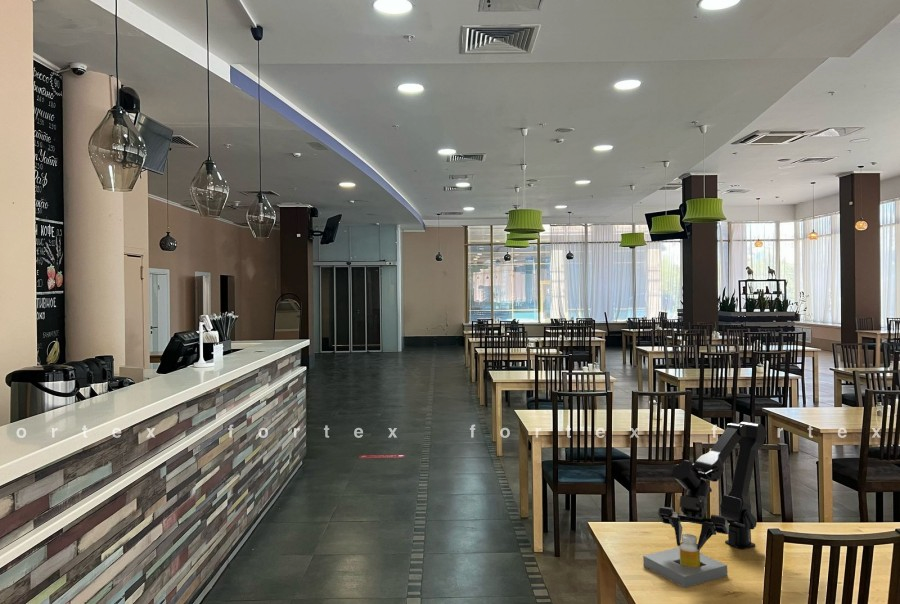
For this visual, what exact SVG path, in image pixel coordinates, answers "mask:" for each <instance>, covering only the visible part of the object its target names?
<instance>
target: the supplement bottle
mask: <svg viewBox="0 0 900 604" xmlns="http://www.w3.org/2000/svg"><path fill="white" fill-rule="evenodd" d="M679 547H680V565H682V566H684V567H686V568H688V569H693V568H697V567H700V553H701V552H700V550H701V549H700V550H698V549H697V547H698V539H697V536H696V535H695V534H690V533H684V534H682V535H681V542H680V545H679Z"/></svg>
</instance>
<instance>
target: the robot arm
mask: <svg viewBox="0 0 900 604" xmlns="http://www.w3.org/2000/svg"><path fill="white" fill-rule="evenodd" d="M767 435H768V431H767V429H766V427H765V426H764V425H763V424H762V423H757V422H750V421H741V422H740V423H736V422H735V423H734V422H730V423H727V424H726V425H725V430H724V431H723V432H722V434H721V435H720V437H719V438H718V439H717V441H716V442H715V443H714V445H713V446H712V447H711V449H710V450H709V451H708V452H707V453H704V454H702V455H700V456H699V457H698V458H697V459H696V460H695V461H694V463H692V461H690V460H687V459H684V460H683V461H682V462H680V463H678V464H677V465H675V466H674V467H673V468H672V472H671V473H672V476H673V478H674V479H675V480H676V481H677V482H678V483H679V484H680V485H681V486H682V487H683V488H684V489H685V490H687V491H686V494H685V495H679V505H678V506H679V508H680V511H681V512H682V513H679V512H676V511H675V510H674V508H672V507H667V506H661V507H659V508H658V511H657V515H658V517H659V520H660V521H661V523H663V524H666V525H670V526H671V528H673V529H674V533H675V540H676V546H677V547H680V543H681V542H682V535H683V534H682V533H683V526H682V522H684V523H690V524H691V523H692V524H696V525H701V530H700V532H699V533H700V534H699V537H698V540H697V544H698V547H697V549H698V550H701V549H702V548H703V546H704V544H705V543H706V542H707V541H708V540H709V539H710V538H711V537H712V536H716V535H717V534H721V535H727V537H728V538H727V539H726V540H724V543H725V544H727V545H730V546H733V547H736V548H737V549H740V550H743V549H747V548H751V547H755V546H756V543H755V542H752V533H751V530H755V528H757V523H758V519H756V518H755V516H754V515H753V514H752V504H751V502H750V499H749V496H748V494H749V491H750V490H749V489H750V485H751V480H752V476H753V475H752V474H753V469H754V465H755V462H756V461H755V460H756V455H757V452H758V450H760V449H761V448H762V446H764V443H765V440H766V438H767ZM737 445H738V447H739V449H738V454H737V458H736V463H735V469H734V472H733V478H732V484H731V488H730V491H729V492H728V493H727V494H723V495H722V497H721V503H720V506H719V507H720V508H719V511H720V515H716V514H711V515H710V518H709V517H707V518H706V517H705V514H706V511H707V502H708V495H709V493H712V492H713V490H712V487H711V486H710V484H709V483H708V482H713V483H714V482H718V481H719V480H720V479H721V477H722V475H723V473H724V470H725V466H724V463H725V461H726V460H727V459H728V457H729V456H730V454H731V452H732V451H733V450H734V449H735V447H736V446H737ZM707 481H708V482H707Z"/></svg>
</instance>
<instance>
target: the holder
mask: <svg viewBox="0 0 900 604" xmlns="http://www.w3.org/2000/svg"><path fill="white" fill-rule="evenodd" d="M642 557H643V560H642V561H643V567H645V568H646V569H648V568H649V569H648V570H650V571H652V570H653V572H654V571H655V572H654V573H657V574H658V575H660V576H661V577H663V578H665V579H667V580H670V581H671V582H673V583H675V584H677V585H678V586H680V587H682V588H684V589H685V588H688V587H693V586H697V585H700V584H703V583H706V582H710V581H714V580H717V579H721V578H725V577H728V564H725V563H723V562H722V561H721V562H720V561H718V560H717V559H715V558H712V557H711V556H710V557H709V556H708V555H705V554H703V553H701V552H700V567H697V568H693V569H688V568H686V567H684V566H682V565H680V546H677V547H674V548H669V549H665V550H661V551H657V552H654V553H649V554H645V555H643V556H642Z"/></svg>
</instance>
